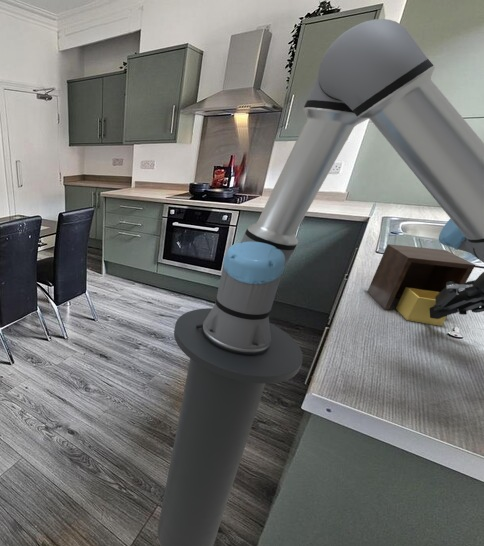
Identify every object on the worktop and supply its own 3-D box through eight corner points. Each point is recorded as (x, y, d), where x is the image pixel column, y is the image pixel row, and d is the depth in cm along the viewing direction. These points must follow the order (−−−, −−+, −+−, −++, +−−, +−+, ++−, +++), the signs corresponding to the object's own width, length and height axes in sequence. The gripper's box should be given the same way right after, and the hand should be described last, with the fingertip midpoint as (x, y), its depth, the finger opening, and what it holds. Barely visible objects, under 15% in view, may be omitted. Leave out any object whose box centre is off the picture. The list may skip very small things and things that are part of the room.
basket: (441, 326, 82) (454, 302, 79) (406, 320, 85) (418, 297, 82) (427, 313, 88) (439, 291, 85) (395, 308, 91) (405, 287, 88)
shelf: (445, 319, 85) (475, 265, 79) (384, 309, 90) (408, 257, 84) (420, 299, 96) (445, 249, 90) (367, 291, 101) (387, 244, 94)
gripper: (474, 290, 62) (401, 321, 82) (575, 303, 57) (470, 333, 77) (470, 257, 64) (400, 295, 85) (567, 267, 59) (467, 305, 79)
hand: (433, 313), depth 81 cm, fingers closed
